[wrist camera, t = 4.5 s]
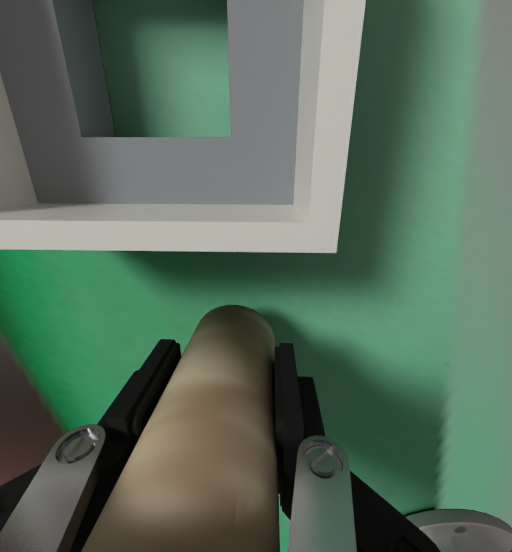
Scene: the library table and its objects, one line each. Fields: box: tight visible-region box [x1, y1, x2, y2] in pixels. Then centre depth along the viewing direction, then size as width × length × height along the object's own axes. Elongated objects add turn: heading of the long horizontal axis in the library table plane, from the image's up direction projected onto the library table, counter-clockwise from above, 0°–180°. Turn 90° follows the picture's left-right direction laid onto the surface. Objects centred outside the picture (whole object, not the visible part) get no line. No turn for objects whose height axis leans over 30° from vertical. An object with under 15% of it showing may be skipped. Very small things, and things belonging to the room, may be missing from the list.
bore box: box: [0, 0, 366, 253], centre depth 8 cm, size 12×12×6 cm
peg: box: [81, 305, 280, 552], centre depth 9 cm, size 4×4×10 cm
